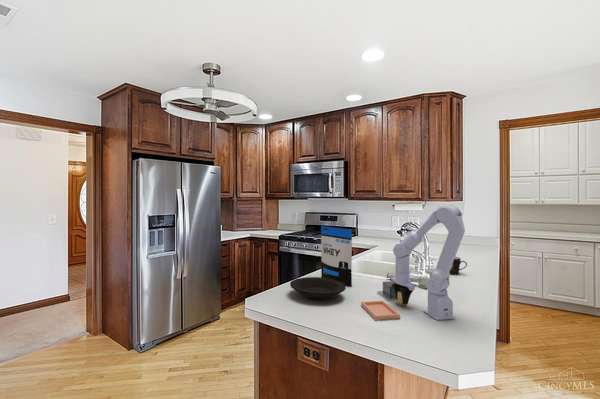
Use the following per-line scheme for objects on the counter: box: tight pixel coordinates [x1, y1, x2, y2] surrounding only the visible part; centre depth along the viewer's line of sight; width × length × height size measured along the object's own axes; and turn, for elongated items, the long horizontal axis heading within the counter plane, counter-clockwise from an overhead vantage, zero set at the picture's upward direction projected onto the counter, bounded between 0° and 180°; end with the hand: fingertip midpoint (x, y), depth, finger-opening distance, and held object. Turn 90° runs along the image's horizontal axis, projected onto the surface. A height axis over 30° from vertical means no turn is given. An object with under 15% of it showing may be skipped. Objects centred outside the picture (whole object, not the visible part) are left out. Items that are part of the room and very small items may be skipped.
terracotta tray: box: [360, 300, 401, 321], centre depth 128 cm, size 16×10×2 cm, turn 9°
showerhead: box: [424, 266, 435, 277], centre depth 172 cm, size 9×7×10 cm
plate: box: [289, 276, 346, 301], centre depth 148 cm, size 28×24×6 cm
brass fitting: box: [396, 290, 408, 308], centre depth 135 cm, size 4×4×6 cm
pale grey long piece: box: [386, 272, 429, 290], centre depth 168 cm, size 5×7×25 cm
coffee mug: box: [449, 256, 468, 276], centre depth 187 cm, size 12×9×10 cm
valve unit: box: [376, 280, 397, 302], centre depth 148 cm, size 12×10×6 cm
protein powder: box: [320, 226, 353, 288], centre depth 172 cm, size 10×24×30 cm, turn 37°
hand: (402, 302), depth 135 cm, fingers closed on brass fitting, 4 cm apart
